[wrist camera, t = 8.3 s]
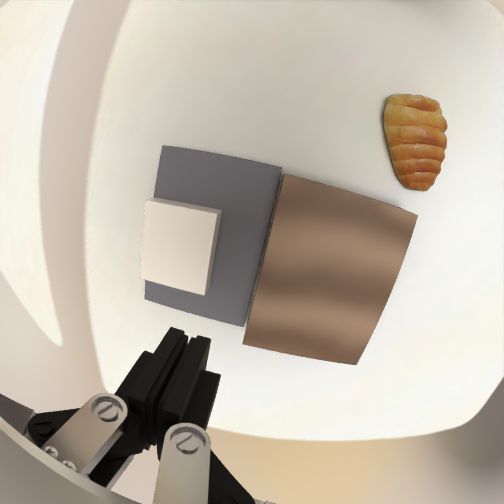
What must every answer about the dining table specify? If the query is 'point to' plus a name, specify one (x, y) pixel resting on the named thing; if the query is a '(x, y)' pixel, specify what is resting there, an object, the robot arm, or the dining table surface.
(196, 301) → the mat
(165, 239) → the tile
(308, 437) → the dining table surface
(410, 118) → the pastry
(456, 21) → the dining table surface
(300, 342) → the serving board
